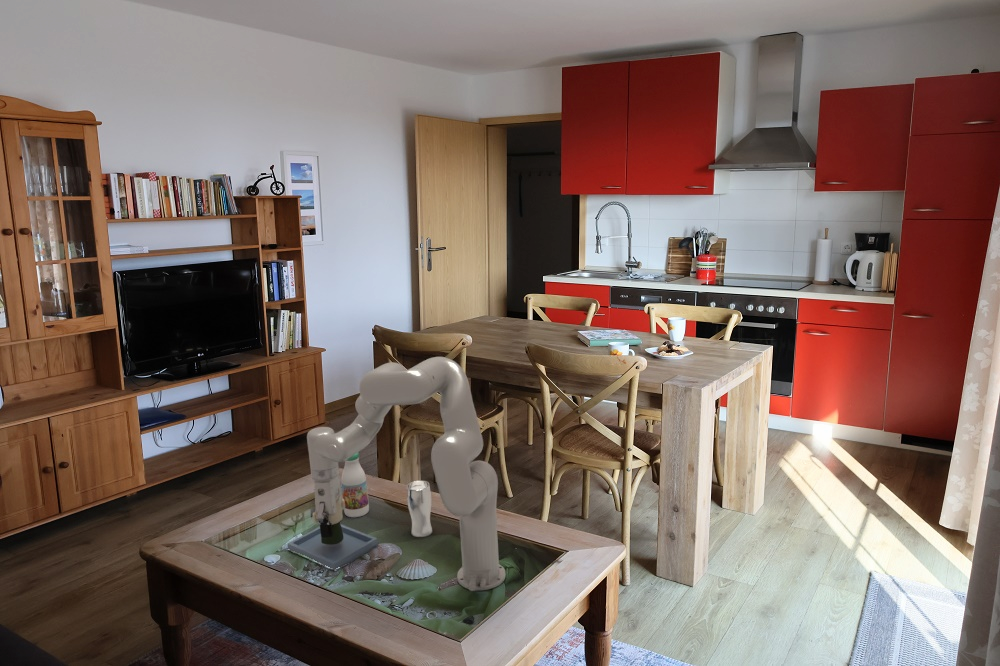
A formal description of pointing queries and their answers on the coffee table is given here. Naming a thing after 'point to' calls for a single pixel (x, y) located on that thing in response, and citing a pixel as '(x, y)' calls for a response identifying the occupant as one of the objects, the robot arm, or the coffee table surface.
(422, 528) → the beer glass
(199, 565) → the coffee table surface
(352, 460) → the milk bottle
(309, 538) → the tray
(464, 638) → the coffee table surface
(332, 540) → the character mug
